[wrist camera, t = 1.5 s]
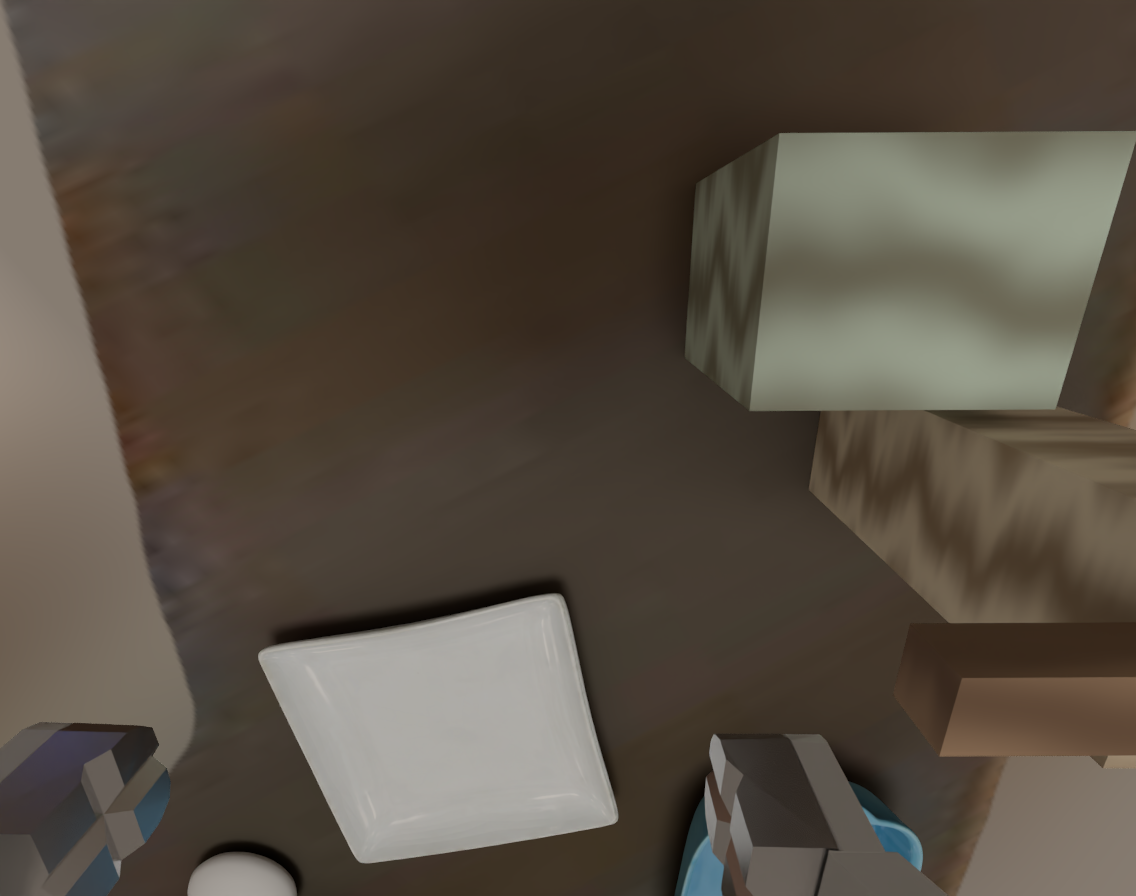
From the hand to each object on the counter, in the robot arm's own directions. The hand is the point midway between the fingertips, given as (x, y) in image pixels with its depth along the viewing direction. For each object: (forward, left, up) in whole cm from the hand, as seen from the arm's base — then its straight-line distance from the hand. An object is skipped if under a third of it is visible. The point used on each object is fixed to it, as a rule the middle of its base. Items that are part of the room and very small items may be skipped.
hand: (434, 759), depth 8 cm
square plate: (+35, -9, -36) cm, 51 cm away
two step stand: (0, +20, -35) cm, 40 cm away
